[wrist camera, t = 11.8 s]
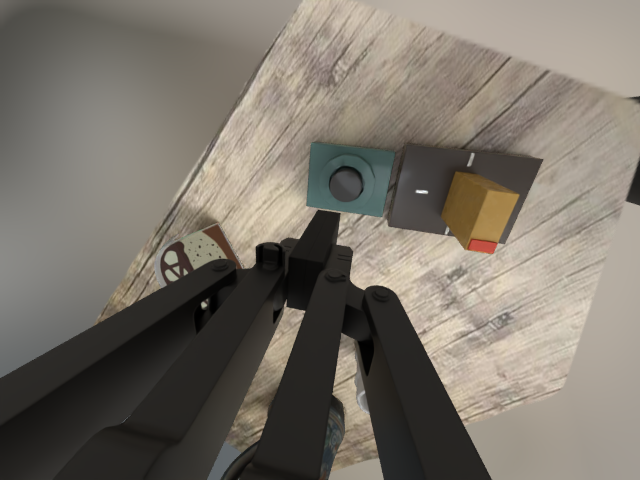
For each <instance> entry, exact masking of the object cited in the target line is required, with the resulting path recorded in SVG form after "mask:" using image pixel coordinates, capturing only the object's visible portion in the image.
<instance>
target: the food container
mask: <svg viewBox="0 0 640 480" xmlns="http://www.w3.org/2000/svg"><path fill="white" fill-rule="evenodd" d="M178 236H179V233H178V234H177V235H175V236H173V237H172V238H171V239H169V240H168V241H167V242H166V243H165V244H164V245H163V246H162V248H161V249H160V251H159V253H158V254H157V256H156V259H155V274H156V278H157V280H158V283H159V285H160V287H161V288H163V287H165V286H166V285H168V284H170V283H172V282H173V281H175V280H177V279H179V278H181V277H182V276H184V275H186V274H188V273H190V272H191V271H193V270H195V269H197V268H199V267H200V266H202V265H204V264H206V263H208V262H210V261H212V260H215V259H220V258H222V259H223V258H224V259H230V260H232V261H234V262H235V263H236V266H237V269H244V267H243V266H242V264H241V262H240V260H239V258H238V257H237V255H236V253H235V251H234V249H233V247H232V246H231V244H230V242H229V240H228V238H227V237H226V235H225V233H224V231H223V229H222V228H221V226H220V224H219V222H218V223H215V224H213V225H211V226H208V227H206V228H204V229H201V230H199V231H197V232H194V233H192V234H190V235H187V236H185V237H183V238H180V239H178V240H176V241H174V240H175V239H176V238H177V237H178ZM207 305H208V300H205V301H204V302H203V303H201V306H202V308H204V307H206V306H207Z"/></svg>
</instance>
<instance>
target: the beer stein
mask: <svg viewBox="0 0 640 480" xmlns="http://www.w3.org/2000/svg"><path fill="white" fill-rule="evenodd" d="M275 396H276V395H275ZM274 398H275V397H274ZM273 401H274V399H273V400H272V402H271V403H270V405H269V408H268V415H269V412H270V410H271V407H272V404H273ZM268 415H267V416H268ZM344 434H345V424H344V411H343V406H342V403H341V402H340V401H339V400H338V399H336V398H335V397H334V396H333V395H332V399H331V406H330V413H329V419H328V426H327V433H326V440H325V446H324V453H323V460H322V466H321V473H320V480H328V478H329V475H330V471H331V468H332V464H333V461H334V458H335V456H336V453H337V450H338V448H339V446H340V444H341V442H342V440H343V438H344ZM258 443H259V440H258V441H257V442H256V443H254V444H253V445H251V446H250V447H248V448H247V449H246V450H245V451H244V452H243V453H241V454H240V455H239V456H238V457H237V458H236V459H235V460H234V461H233V462H232V463H231V465H230V466H229V467H228V468H227V470H226V471H225V472H224V474H223V476H222V478H221V480H238V479H239V478H240V476H241V474H242V472H243V471H244V469H245V467H246V466H247V465H248V464H249V463H250V462H251V461H252V459H253V457H254V454H255V452H256V449H257V446H258Z"/></svg>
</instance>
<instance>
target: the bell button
mask: <svg viewBox="0 0 640 480" xmlns="http://www.w3.org/2000/svg"><path fill="white" fill-rule="evenodd" d="M361 187H362V180H361V177H360V175H359V174H358V173H357V172H356V171H355V170H353V169H349V168H345V169H341V170H339V171H338V172H336V173H335V175H334V176H333V177H332V179H331V181H330V192H331V194H332V195H333V197H334V198H335V199H337V200H338V201H341V202H350V201H353V200H354V199H356V198H357V197H358V195H359V194H360V192H361Z"/></svg>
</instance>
